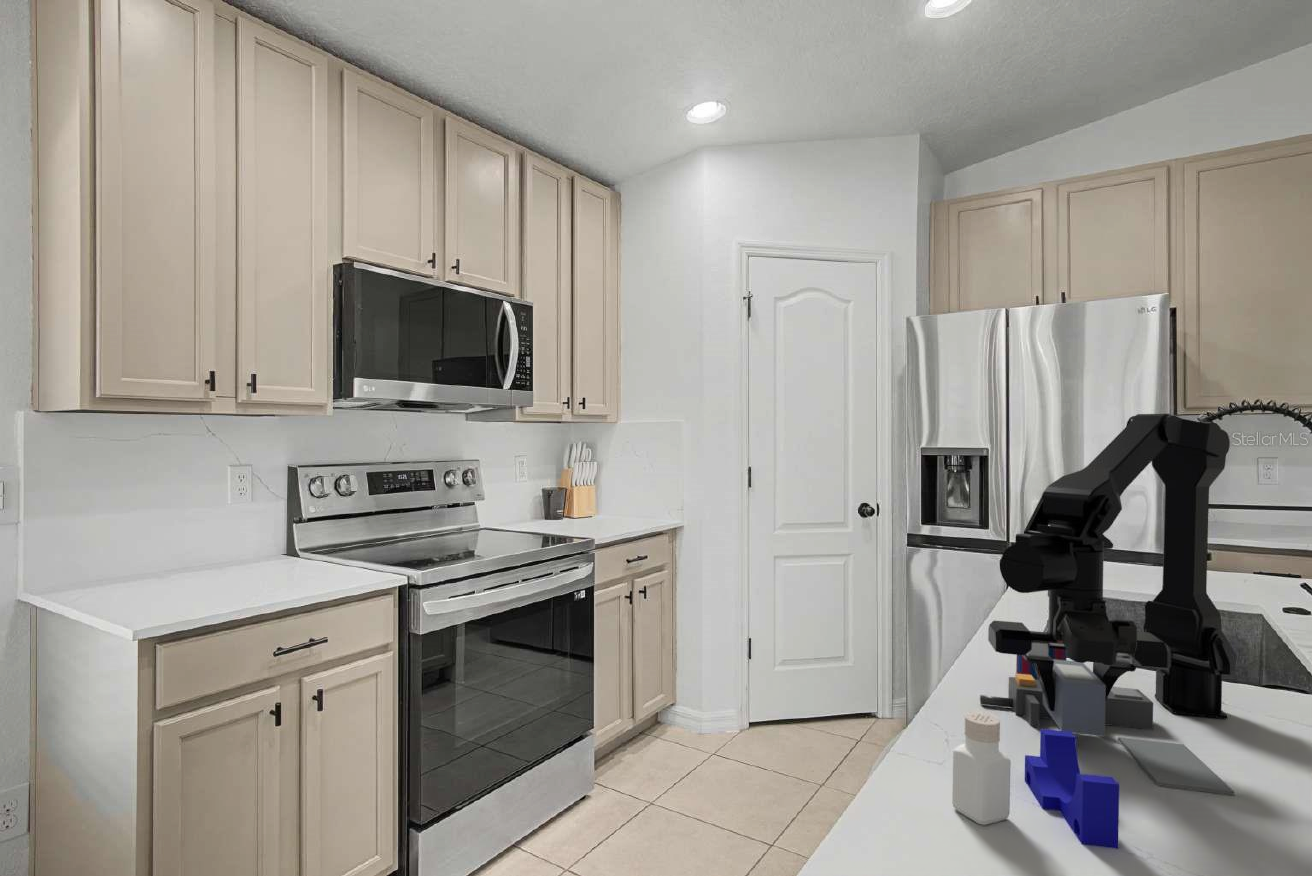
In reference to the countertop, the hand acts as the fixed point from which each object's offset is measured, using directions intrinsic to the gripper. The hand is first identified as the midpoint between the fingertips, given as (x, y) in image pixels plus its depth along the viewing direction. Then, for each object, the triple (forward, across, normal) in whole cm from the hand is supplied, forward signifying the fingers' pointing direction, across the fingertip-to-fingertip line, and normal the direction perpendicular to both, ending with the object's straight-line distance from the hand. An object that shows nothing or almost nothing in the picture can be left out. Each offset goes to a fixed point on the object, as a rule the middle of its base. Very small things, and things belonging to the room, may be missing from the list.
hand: (1073, 712), depth 88 cm
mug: (+4, +1, +21) cm, 21 cm away
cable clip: (+4, -5, -19) cm, 20 cm away
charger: (+1, 0, 0) cm, 1 cm away
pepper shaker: (+4, -14, -22) cm, 26 cm away
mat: (+4, +9, -4) cm, 10 cm away
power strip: (+4, +1, +8) cm, 9 cm away
